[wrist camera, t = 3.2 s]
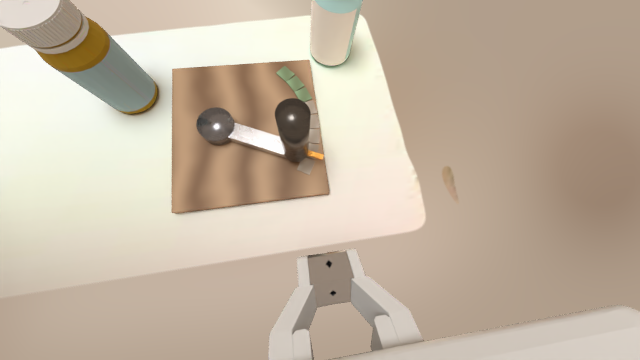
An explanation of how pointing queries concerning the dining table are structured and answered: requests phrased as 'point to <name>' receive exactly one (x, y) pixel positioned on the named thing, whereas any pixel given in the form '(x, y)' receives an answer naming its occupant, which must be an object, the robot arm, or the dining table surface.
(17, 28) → the bottle
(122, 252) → the dining table surface
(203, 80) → the tuner board
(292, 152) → the peg lever
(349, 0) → the can
